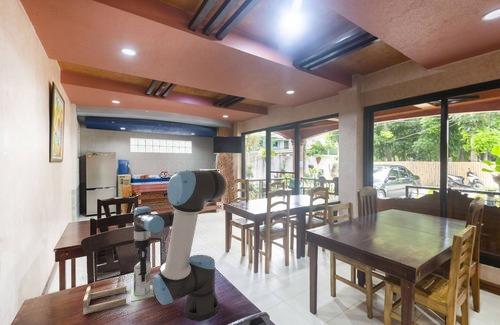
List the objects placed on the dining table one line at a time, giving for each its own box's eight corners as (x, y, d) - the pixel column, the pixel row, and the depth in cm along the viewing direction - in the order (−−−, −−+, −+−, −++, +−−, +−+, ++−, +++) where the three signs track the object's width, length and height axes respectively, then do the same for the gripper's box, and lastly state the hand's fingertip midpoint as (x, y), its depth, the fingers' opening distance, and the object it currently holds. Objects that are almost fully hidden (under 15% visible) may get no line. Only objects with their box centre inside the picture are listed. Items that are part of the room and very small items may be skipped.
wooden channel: (126, 304, 107) (126, 291, 107) (83, 314, 100) (83, 300, 99) (126, 290, 118) (126, 278, 118) (87, 299, 111) (87, 286, 110)
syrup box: (139, 289, 119) (139, 260, 118) (150, 289, 119) (150, 261, 118) (133, 295, 113) (133, 265, 113) (145, 295, 113) (145, 266, 113)
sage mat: (154, 296, 113) (154, 295, 113) (130, 302, 109) (130, 301, 109) (152, 285, 123) (152, 284, 123) (130, 290, 118) (130, 289, 118)
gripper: (152, 245, 106) (152, 291, 106) (148, 230, 128) (148, 268, 128) (134, 248, 103) (134, 295, 103) (133, 232, 125) (133, 271, 125)
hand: (142, 280), depth 116 cm, fingers open, 13 cm apart
